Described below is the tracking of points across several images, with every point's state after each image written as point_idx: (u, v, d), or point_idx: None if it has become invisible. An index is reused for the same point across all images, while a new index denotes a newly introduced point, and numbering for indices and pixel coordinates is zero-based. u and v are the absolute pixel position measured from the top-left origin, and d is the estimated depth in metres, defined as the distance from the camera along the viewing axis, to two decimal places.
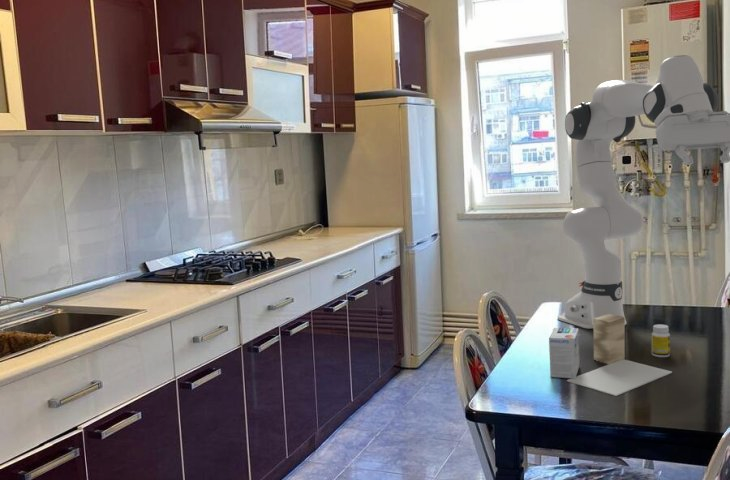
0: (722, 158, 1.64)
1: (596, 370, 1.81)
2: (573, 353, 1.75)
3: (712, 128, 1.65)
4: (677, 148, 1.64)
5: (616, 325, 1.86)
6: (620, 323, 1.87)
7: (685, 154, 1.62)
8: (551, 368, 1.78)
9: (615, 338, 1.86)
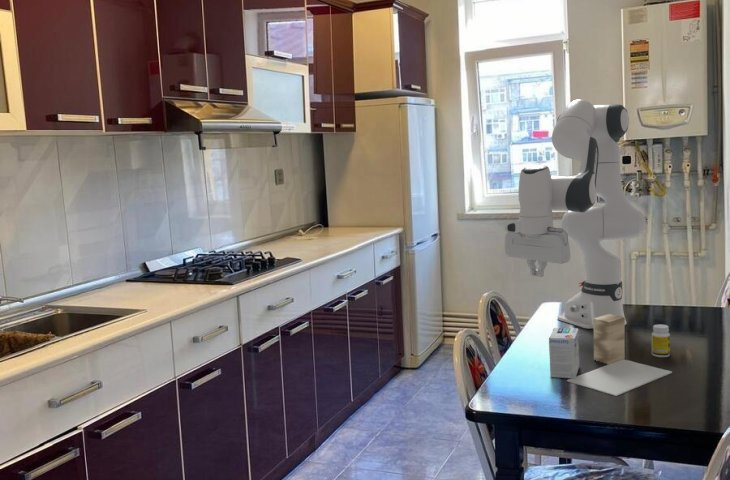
0: None
1: (596, 370, 1.81)
2: (573, 353, 1.75)
3: (539, 248, 1.81)
4: None
5: (616, 325, 1.86)
6: (620, 323, 1.87)
7: (530, 268, 1.86)
8: (551, 368, 1.78)
9: (615, 338, 1.86)
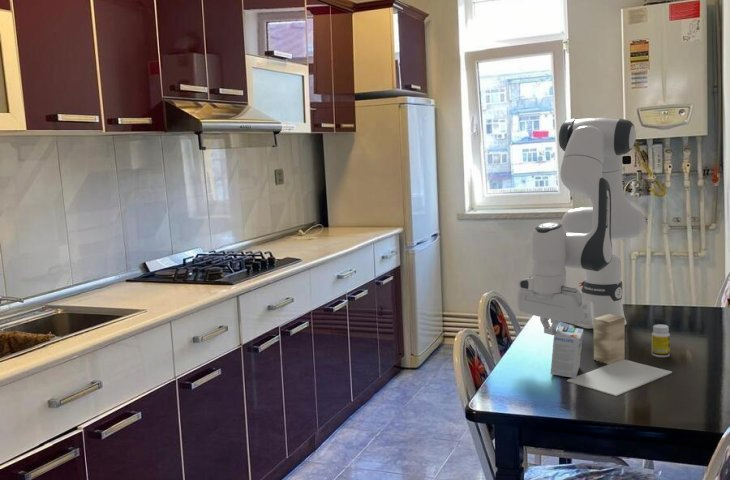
0: None
1: (596, 370, 1.81)
2: (576, 353, 1.75)
3: (553, 307, 1.79)
4: None
5: (616, 325, 1.86)
6: (620, 323, 1.87)
7: (543, 325, 1.84)
8: (553, 366, 1.77)
9: (615, 338, 1.86)
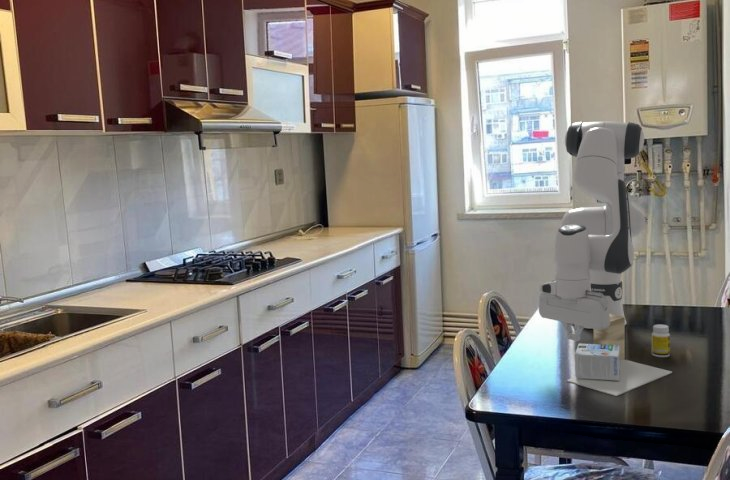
0: None
1: None
2: (603, 378, 1.73)
3: (577, 312, 1.73)
4: None
5: (616, 325, 1.86)
6: (620, 323, 1.87)
7: (566, 331, 1.78)
8: (584, 356, 1.74)
9: (615, 338, 1.86)
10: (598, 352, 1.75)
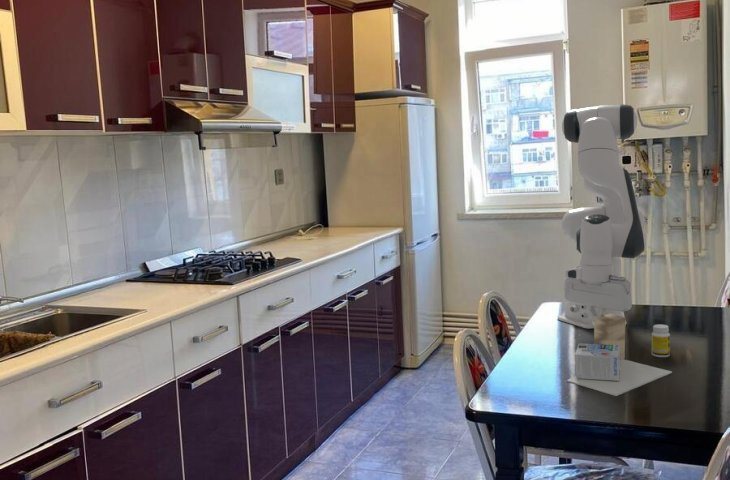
0: None
1: None
2: (603, 378, 1.73)
3: (601, 295, 1.87)
4: None
5: (617, 325, 1.86)
6: (621, 323, 1.87)
7: (590, 313, 1.92)
8: (584, 356, 1.74)
9: (616, 338, 1.86)
10: (598, 352, 1.75)
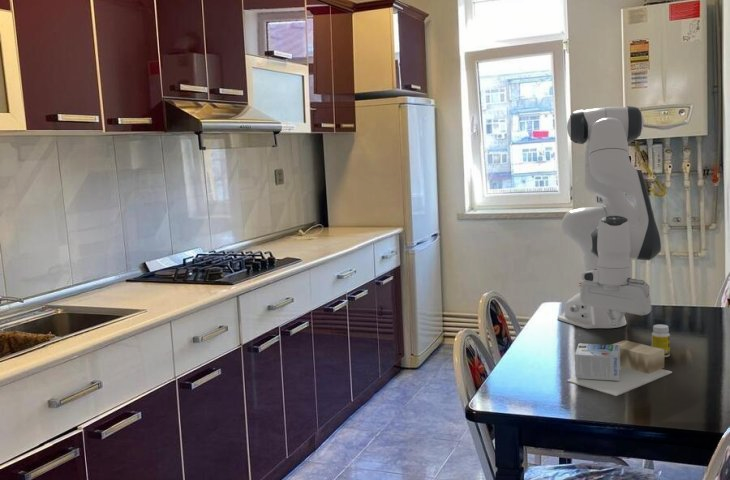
0: None
1: None
2: (603, 378, 1.73)
3: (619, 298, 1.82)
4: None
5: None
6: None
7: (607, 317, 1.87)
8: (584, 356, 1.74)
9: None
10: (598, 352, 1.75)
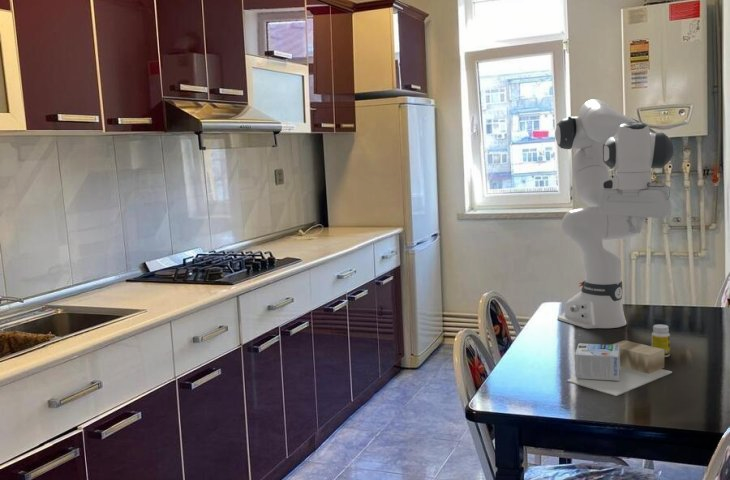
0: None
1: None
2: (603, 378, 1.73)
3: (638, 203, 1.83)
4: None
5: None
6: None
7: (627, 224, 1.88)
8: (584, 356, 1.74)
9: None
10: (598, 352, 1.75)
